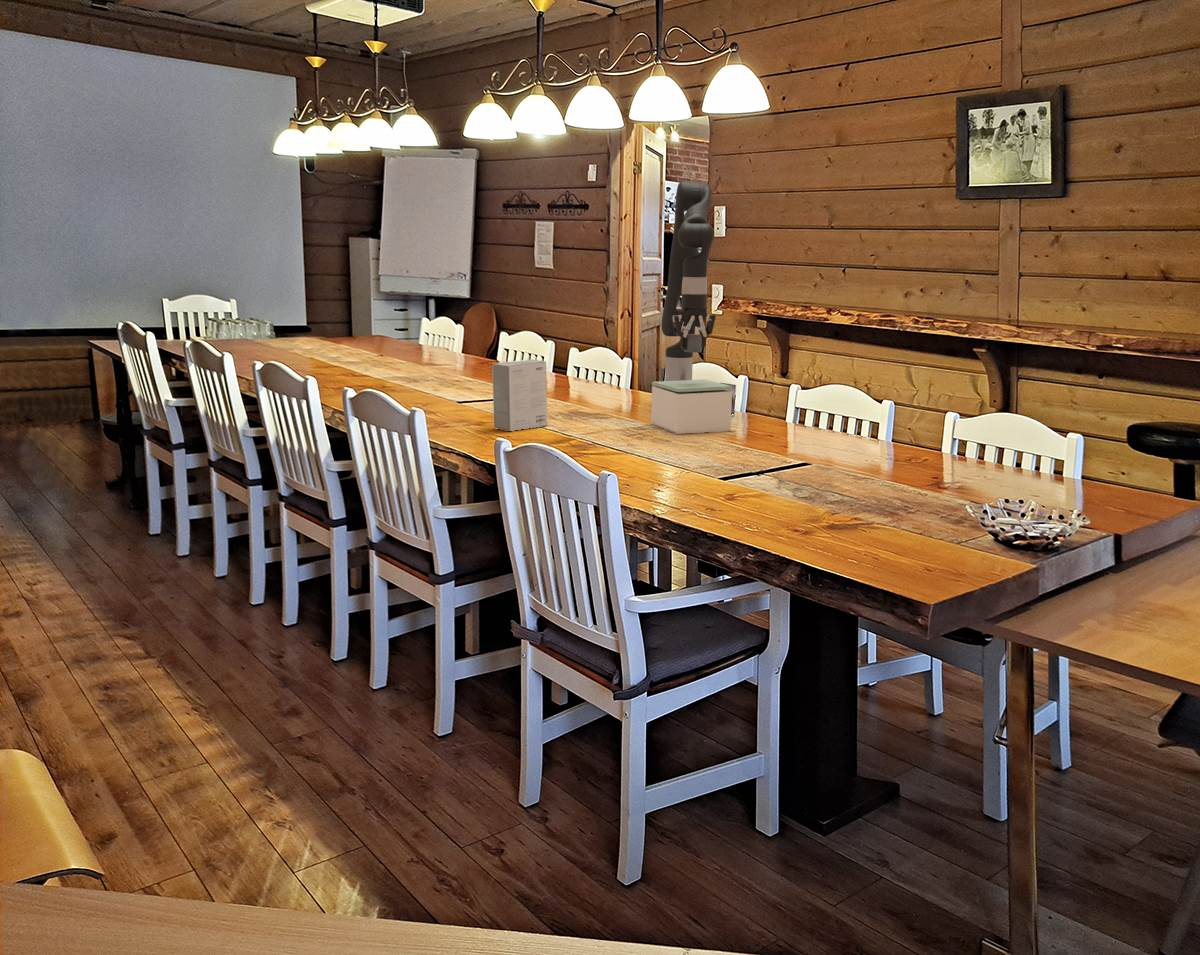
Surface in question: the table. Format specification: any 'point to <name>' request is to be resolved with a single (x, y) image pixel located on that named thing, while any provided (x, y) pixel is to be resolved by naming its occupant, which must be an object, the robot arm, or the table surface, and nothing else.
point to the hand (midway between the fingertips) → (692, 349)
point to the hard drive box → (519, 394)
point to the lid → (691, 385)
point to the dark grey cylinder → (694, 343)
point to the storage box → (691, 410)
